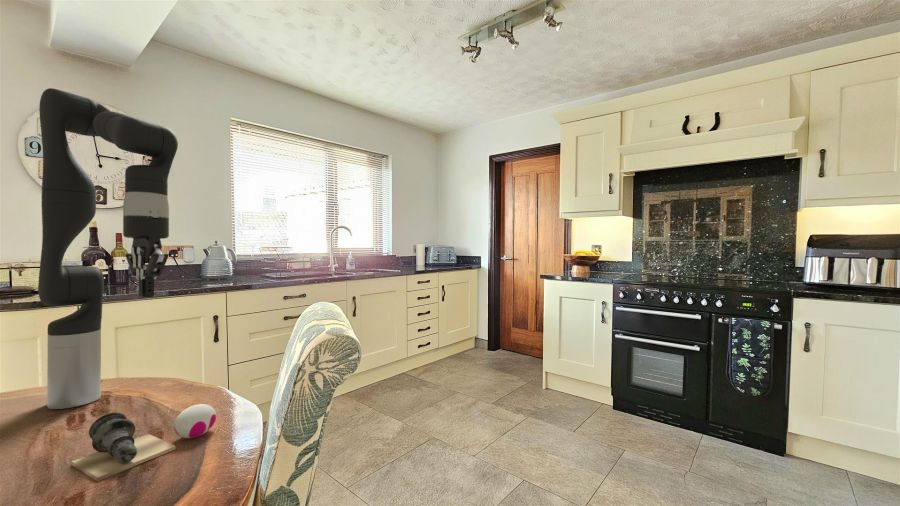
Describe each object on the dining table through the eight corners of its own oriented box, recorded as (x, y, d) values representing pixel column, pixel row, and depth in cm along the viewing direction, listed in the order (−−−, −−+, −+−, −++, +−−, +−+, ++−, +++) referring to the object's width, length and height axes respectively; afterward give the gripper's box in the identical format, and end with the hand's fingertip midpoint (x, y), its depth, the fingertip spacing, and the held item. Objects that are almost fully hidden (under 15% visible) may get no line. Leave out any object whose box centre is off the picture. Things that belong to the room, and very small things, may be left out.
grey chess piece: (95, 449, 67) (116, 486, 60) (80, 426, 64) (100, 462, 58) (134, 426, 71) (157, 458, 65) (121, 404, 69) (144, 435, 62)
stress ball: (185, 462, 69) (200, 436, 68) (158, 434, 71) (172, 408, 70) (220, 441, 77) (234, 417, 76) (195, 416, 78) (208, 392, 77)
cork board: (71, 464, 63) (71, 461, 63) (148, 436, 73) (148, 433, 73) (97, 481, 58) (97, 477, 58) (175, 449, 68) (175, 445, 68)
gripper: (110, 215, 78) (109, 297, 78) (140, 212, 72) (140, 300, 72) (151, 218, 85) (151, 294, 85) (183, 215, 79) (182, 296, 79)
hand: (146, 297), depth 78 cm, fingers closed
